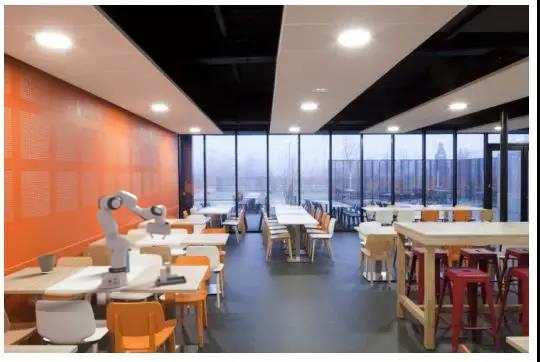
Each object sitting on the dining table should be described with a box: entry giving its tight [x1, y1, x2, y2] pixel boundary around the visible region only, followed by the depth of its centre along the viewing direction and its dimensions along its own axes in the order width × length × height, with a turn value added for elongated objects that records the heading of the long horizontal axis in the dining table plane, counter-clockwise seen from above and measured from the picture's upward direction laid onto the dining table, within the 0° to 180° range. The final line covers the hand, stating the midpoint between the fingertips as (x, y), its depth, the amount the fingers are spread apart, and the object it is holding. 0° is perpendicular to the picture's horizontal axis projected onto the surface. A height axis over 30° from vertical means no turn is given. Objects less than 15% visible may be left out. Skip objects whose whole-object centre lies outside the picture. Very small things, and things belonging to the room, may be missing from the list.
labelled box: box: [164, 261, 172, 278], centre depth 323 cm, size 4×5×12 cm
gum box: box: [110, 247, 131, 273], centre depth 352 cm, size 19×5×23 cm, turn 56°
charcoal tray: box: [155, 275, 187, 287], centre depth 307 cm, size 22×14×2 cm, turn 110°
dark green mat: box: [157, 274, 179, 279], centre depth 323 cm, size 16×14×1 cm
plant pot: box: [37, 253, 57, 273], centre depth 357 cm, size 15×15×16 cm
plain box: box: [159, 266, 167, 283], centre depth 305 cm, size 4×4×12 cm
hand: (157, 238), depth 326 cm, fingers open, 8 cm apart
